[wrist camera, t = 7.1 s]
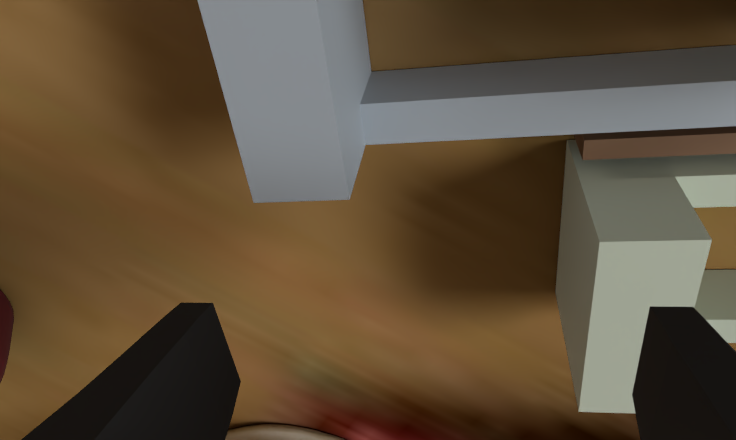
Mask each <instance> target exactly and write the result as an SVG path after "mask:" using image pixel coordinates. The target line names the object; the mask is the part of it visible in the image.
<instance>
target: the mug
mask: <svg viewBox="0 0 736 440" xmlns="http://www.w3.org/2000/svg"><path fill="white" fill-rule="evenodd" d="M13 322H14V315H13V309H12V306H11V304H10V302H9V300H8V299H7V297H6V296H5V295H4V293H3V292H2V291H1V290H0V382H1V380H2V378H3V375H4V372H5V368H6V365H7V360H8V355H9V350H10V343H11V336H12V329H13Z"/></svg>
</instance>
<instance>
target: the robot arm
mask: <svg viewBox="0 0 736 440" xmlns="http://www.w3.org/2000/svg"><path fill="white" fill-rule="evenodd" d="M240 382H241V381H240V378H239V375H238V372H237V370H236V367H235V364H234V361H233V358H232V356H231V353H230V350H229V347H228V344H227V342H226V339H225V336H224V333H223V330H222V327H221V325H220V322H219V319H218V316H217V313H216V311H215V308H214V305H213V303H180V304H179V305H178V306H177V307H175V308H174V309H173V310H172V311H171V312H169V313H168V314H167V315H166V316H165V317H164V318H162V319H161V320H160V321H159V322H158V323H157V324H156V325H154V326H153V327H152V328H151V329H150V330H149V331H148V332H147V333H145V334H144V335H143V336H142V337H141V338H140V339H139V340H138V341H137V342H135V343H134V344H133V345H132V346H131V347H130V348H129V349H128V350H127V351H125V352H124V353H123V354H122V355H121V356H120V357H119V358H118V359H116V360H115V361H114V362H113V363H112V364H111V365H110V366H108V367H107V368H106V369H105V370H104V371H103V372H102V373H101V374H99V375H98V376H97V377H96V378H95V379H94V380H93V381H91V382H90V383H89V384H88V385H87V386H86V387H85V388H83V389H82V390H81V391H80V392H79V393H78V394H77V395H75V396H74V397H73V398H72V399H70V400H69V401H68V402H67V403H66V404H64V405H63V406H62V407H61V408H59V409H58V410H57V411H56V412H55V413H53V414H52V415H51V416H50V417H48V418H47V419H46V420H45V421H44V422H42V423H41V424H40V425H39V426H37V427H36V428H35V429H34V430H33V431H31V432H30V433H29V434H28V435H26V436H25V437H24V438H23V439H22V440H225V438H226V436H227V432H228V428H229V425H230V421H231V418H232V414H233V410H234V406H235V402H236V398H237V394H238V390H239V386H240ZM632 397H633V402H634V408H635V413H636V418H637V424H638V429H639V434H640V439H641V440H736V351H735V350H734V349H733V348H732V347H731V346H730V345H729V344H728V343H727V342H726V341H725V340H724V339H723V338H722V336H721V335H720V334H719V333H718V332H717V331H716V330H715V329H714V328H713V327H712V326H711V325H710V324H709V323H708V322H707V321H706V319H705V318H704V317H703V316H702V315H701V314H700V313H699V312H698V311H697V310H696V309H695V308H694V307H655V306H650V308H649V313H648V318H647V323H646V328H645V333H644V338H643V343H642V348H641V353H640V358H639V363H638V368H637V373H636V378H635V383H634V387H633V392H632Z"/></svg>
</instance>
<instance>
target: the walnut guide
mask: <svg viewBox="0 0 736 440" xmlns="http://www.w3.org/2000/svg"><path fill="white" fill-rule="evenodd" d="M574 137H575V140H576V143H577V146H578V149H579V152H580V154H581V157H582V160H597V159H620V158H643V157H667V156H690V155H713V154H736V126H728V127H709V128H689V129H669V130H649V131H630V132H610V133H590V134H574Z"/></svg>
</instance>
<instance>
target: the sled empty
mask: <svg viewBox="0 0 736 440" xmlns="http://www.w3.org/2000/svg"><path fill="white" fill-rule="evenodd" d="M732 206H736V154H713V155H690V156H667V157H643V158H620V159H597V160H582V157H581V154H580V152H579V149H578V146H577V143H576V140H567V146H566V159H565V172H564V185H563V199H562V212H561V225H560V238H559V252H558V265H557V278H556V291H555V293H556V298H557V303H558V308H559V314H560V319H561V324H562V329H563V334H564V339H565V344H566V349H567V355H568V360H569V365H570V370H571V375H572V380H573V385H574V390H575V396H576V401H577V406H578V411H579V412H602V413H635V408H634V402H633V397H632V392H633V387H634V383H635V378H636V373H637V368H638V363H639V358H640V353H641V348H642V343H643V338H644V333H645V328H646V323H647V318H648V313H649V308H650V306H655V307H694V308H695V309H696V310H697V311H698V312H699V313H700V314H701V315H702V316H703V317H704V318H705V319H706V321H707V322H708V323H709V324H710V325H711V326H712V327H713V328H714V329H715V330H716V331H717V332H718V333H719V334H720V335H721V336H722V338H723V339H724V340H725V341H726V342H727V343H736V270H704V269H705V265H706V261H707V257H708V253H709V249H710V245H711V242H712V239H711V237H710V236H709V234H708V232H707V231H706V229H705V227H704V226H703V224H702V222H701V220H700V219H699V217H698V215H697V214H696V212H695V210H694V208H696V207H732ZM635 414H636V413H635Z"/></svg>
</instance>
